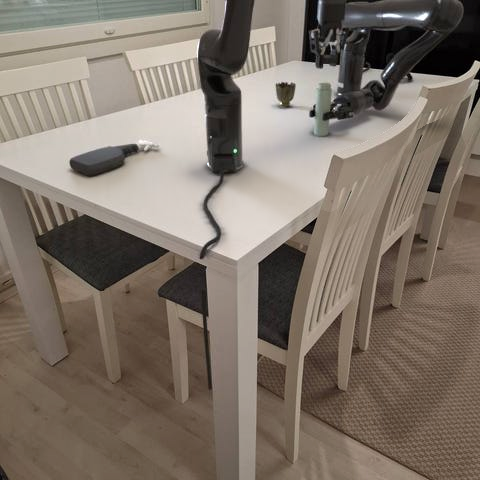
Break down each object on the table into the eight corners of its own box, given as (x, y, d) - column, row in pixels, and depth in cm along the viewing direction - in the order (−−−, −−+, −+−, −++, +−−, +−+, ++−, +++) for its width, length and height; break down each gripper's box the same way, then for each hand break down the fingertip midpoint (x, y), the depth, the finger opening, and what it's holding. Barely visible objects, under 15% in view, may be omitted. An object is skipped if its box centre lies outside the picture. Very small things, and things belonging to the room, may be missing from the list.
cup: (271, 107, 166) (272, 85, 162) (279, 102, 172) (280, 80, 168) (290, 109, 163) (291, 87, 159) (297, 104, 169) (298, 82, 165)
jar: (328, 132, 142) (333, 82, 134) (327, 136, 138) (331, 86, 130) (314, 131, 143) (318, 82, 135) (312, 135, 139) (316, 85, 131)
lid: (314, 62, 129) (315, 56, 128) (322, 60, 132) (322, 54, 132) (331, 64, 126) (331, 58, 125) (338, 61, 130) (339, 55, 129)
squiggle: (400, 92, 202) (376, 71, 205) (417, 76, 202) (392, 56, 205) (405, 81, 191) (380, 59, 194) (423, 64, 191) (397, 42, 194)
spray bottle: (67, 168, 120) (139, 144, 136) (91, 178, 114) (163, 151, 130) (65, 157, 118) (137, 134, 134) (89, 167, 112) (162, 142, 128)
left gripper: (323, 3, 115) (318, 72, 124) (360, 0, 122) (352, 66, 131) (303, 1, 120) (299, 68, 129) (339, -1, 127) (333, 62, 136)
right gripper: (332, 89, 148) (299, 99, 138) (369, 96, 139) (337, 107, 129) (330, 111, 152) (298, 123, 142) (366, 120, 143) (334, 133, 133)
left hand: (326, 66), depth 130 cm, fingers closed on lid, 5 cm apart
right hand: (317, 115), depth 136 cm, fingers closed on jar, 4 cm apart
